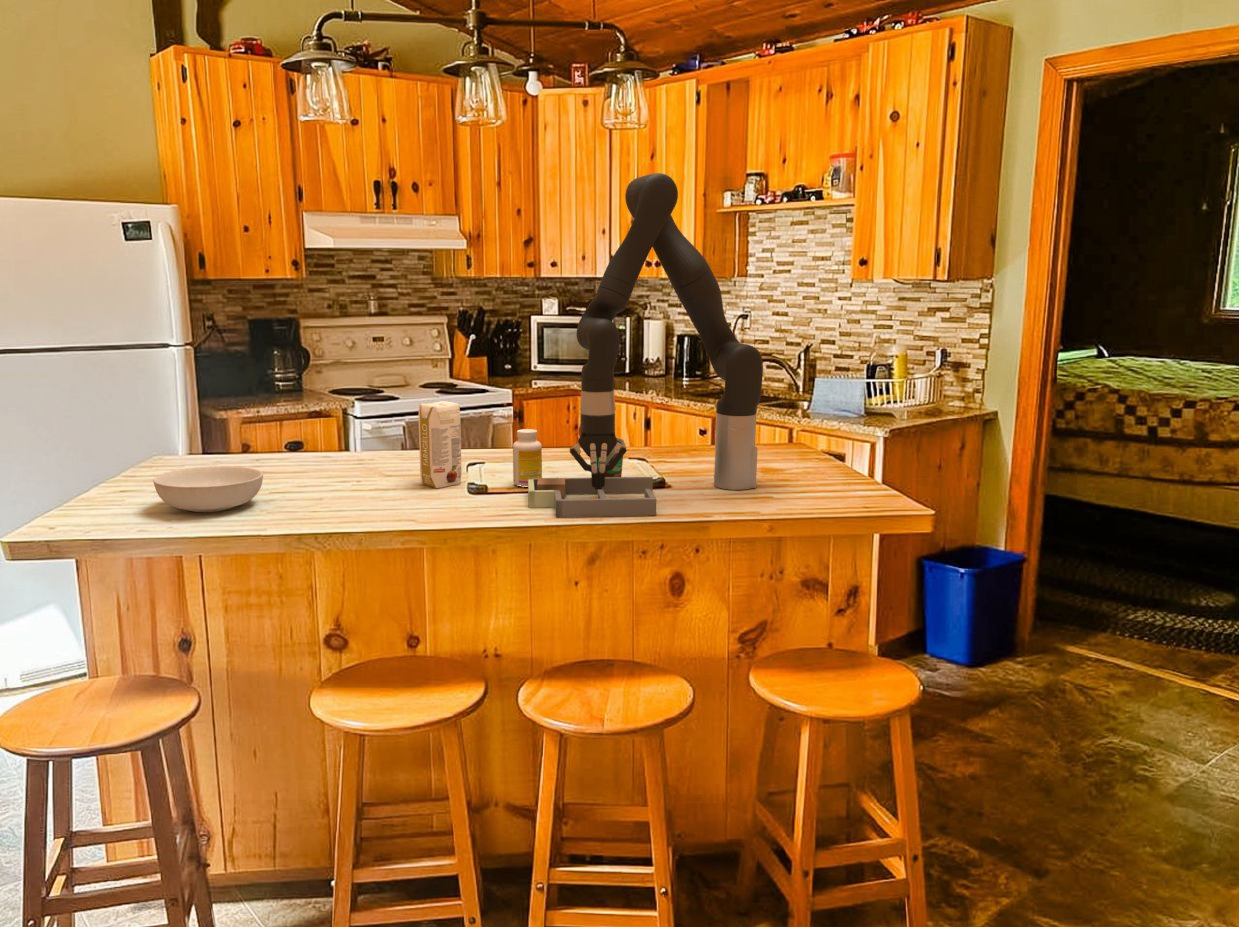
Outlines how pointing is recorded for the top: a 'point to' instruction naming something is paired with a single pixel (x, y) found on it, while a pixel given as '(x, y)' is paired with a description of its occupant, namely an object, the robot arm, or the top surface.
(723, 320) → the robot arm
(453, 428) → the juice carton
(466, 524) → the top surface
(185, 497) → the serving bowl
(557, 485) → the walnut block
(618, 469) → the food container
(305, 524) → the top surface
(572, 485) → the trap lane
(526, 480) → the supplement bottle
